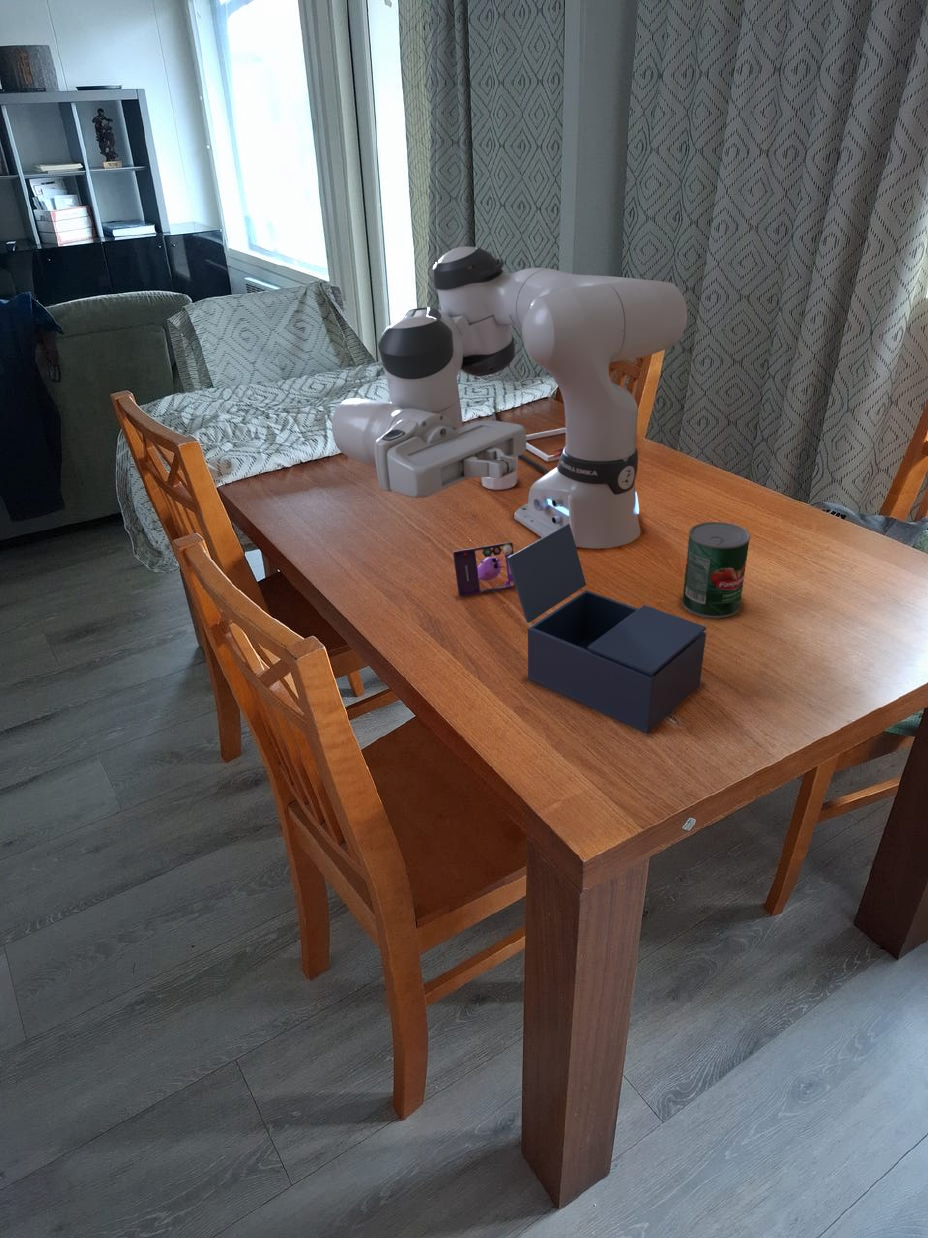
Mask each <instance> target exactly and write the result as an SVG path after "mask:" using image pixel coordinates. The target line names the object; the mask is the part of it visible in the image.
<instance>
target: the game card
mask: <svg viewBox="0 0 928 1238" xmlns="http://www.w3.org/2000/svg"><path fill="white" fill-rule="evenodd" d="M476 551H482V554H483V556H484V557H485V559H483V560H480V561H479V562H480V563H479V565H478V564H477V563H478V562H477V556H476V555H477V554H476ZM501 553H502V554H503V555H504V560H505V564H506V565H505V566H504V565H501V563H500V561H502V560H503V558H497V556H499V555H501ZM492 554H493V555H494V556H492ZM513 554H515V552H514V545H513V542H512V541H511V542H502V543H498V544H497V543H496V544H491V545H484V546H480V547H473V548H467V549H459V550H454V551H452V555H453V556H452V557H453V562H454V563H453V564H454V570H455V577H456V584H457V585H456V587H457V593H458V597H460V598H462V597H468V596H473V595H480V594H486V593H490V592H497V591H502V590H507V589H514V588H516V586H515V583H514V580H513V576H512V573H511V570H510V566H509V563H508V560H507V557H509V556H511V555H513ZM501 569H506V572H507V580H506V581H505V585H504V586H497V587H492V588H487V589H481V587H480V585H481V584H480V581H485V582H486V581H492V580H494V579H496V578H497V577H498V576H499V575H500V574H502V572H501ZM511 582H513V584H511Z"/></svg>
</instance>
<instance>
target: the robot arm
mask: <svg viewBox="0 0 928 1238" xmlns="http://www.w3.org/2000/svg"><path fill="white" fill-rule="evenodd" d="M504 266H505V262H504V261H503V260H502V259H501V258H495V257H494V256H493V255H492V254H491V253H490V252H489V251H487V250H485V249H483V248H481V247H479V246H476V245H475V246H458V247H454V248H452V249H450V250H449V251H447V252H446V253H444V254H443V255H442V256H441V257H440V258H438V259H437V260H436V262H435V264H434V265H433V266H432V277H433V285H434V288H435V289H436V290H437V291H436V292H437V296H438V301H439V306H440V309H438V308H436V307H431V306H425V307H416V308H413V309H412V308H411V309H409V310H407V311H405V312H404V313H402V314H401V315H400V316H399V318H398V319H397V321H394V322H392V323H390V324H388V326H387V327H386V328H385V329H384V330H383V332H382V334H381V336H380V337H379V339H378V341H377V348H378V351H379V357H380V359H381V363H382V366H383V368H384V374H385V380H386V384H387V390H388V395H389V400H390V402H387V401H382V400H376V399H367V398H349V399H345V400H343V401H341V402H340V403H339V404H338V405H337V407H336V408H335V410H334V412H333V416H332V422H331V432H332V437H333V441H334V444H335V446H336V448H337V449H338V450H339V452H341V453H342V454H343V455H345V457H348V459H349V458H350V459H351V460H354V461H356V462H358V463H360V464H363V465H366V466H369V467H372V468H375V469H376V475H377V481H378V486H379V489H380V490H381V491H384V492H389V493H391V492H393V493H395V494H399V495H401V496H406V497H409V498H413V499H424V498H428V497H431V496H432V495H435V494H437V493H440V492H442V491H444V490H446V489H448V488H450V487H452V486H455V485H457V484H459V483H461V482H463V481H466V480H468V479H470V478H472V479H474V478H475V479H477V478H481V477H491V478H495V479H500V478H502V477H504V476H506V475H508V474H510V473H512V472H515V471H516V459H515V458H514V457H517V456H518V457H519V458H521V459H522V460H524V461H525V462H527V463H528V464H529V465H531V466H533V467H535V468H537V469H538V470H540V471H541V472H542V473H543V474H544V475H543V476H541V477H540V478H538V479H536V480H535V482H533V483H532V484H531V486H530V489H529V491H528V497H527V503H525V504H523V505H521V506H520V507H518V508H517V509H516V511H515V512H514V515H513V518H514V520H516V521H517V522H518V523H520V524H522V525H523V526H524V527H526V528H527V529H529V530H531V531H532V532H533V533H534V534H535V535H537V536H538V537H540V538H543V537H545V536H547V535H548V534H550V533H552V532H554V531H555V530H557V529H559V528H561V527H563V526H564V525H566V524H570V527H571V531H572V534H573V538H574V541H575V545H576V548H583V549H597V550H598V549H611V548H612V549H613V548H617V547H622V546H625V545H628V544H630V543H632V542H634V541H635V540H637V539H638V538H639V537H640V535H641V531H642V530H641V526H640V523H639V513H640V507H639V499H638V494H637V491H636V478H637V474H638V464H639V463H638V462H639V450H638V448H637V433H638V431H637V430H638V415H639V406H638V402H637V401H636V399H635V397H634V395H633V394H632V393H631V392H630V391H629V390H628V389H626V388H625V387H623V386H621V385H618V384H617V383H614V382H612V381H611V377H610V369H609V368H610V364H611V363H613V362H620V361H627V360H634V359H639V358H645V357H649V356H651V355H655V354H657V353H660V352H662V351H665V350H667V349H670V348H672V347H674V346H675V345H676V344H678V343H679V341H680V340H681V338H682V336H683V334H684V332H685V330H686V327H687V321H688V307H687V303H686V300H685V297H684V295H683V293H682V292H681V290H680V289H679V287H678V286H676V284H674V283H672V282H670V281H663V280H655V279H642V278H633V277H622V276H611V275H597V274H596V275H593V274H578V273H577V274H576V273H572V272H567V271H564V270H563V271H562V270H559V269H555V268H548V267H529V268H524V269H521V270H518V271H515V272H513V273H512V272H511V273H506V272H505V271H504V270H503V267H504ZM511 325H513V326H514V327H516V329H518V330H520V331H521V338H522V342H523V346H524V348H525V350H526V352H527V354H528V356H529V357H530V358H531V360H532V361H533V362H534V363H535V364H536V365H538V366H539V367H541V368H542V369H544V370H545V371H546V372H547V373H548V374H549V375H550V376H551V378H552V379H553V380H554V382H555V383H556V385H557V387H558V389H559V391H560V394H561V398H562V403H563V406H564V407H563V408H564V422H565V423H564V424H565V425H564V428H566V433H565V445H564V446H563V447H561V448H559V449H555V450H553V451H552V452H553V453H555V454H553V455H554V456H553V457H557V456H560V455H561V457H560V459H558V462H557V465H556V467H555V468H553V469H552V470H550V471H549V470H548V469H547V468H546V467H544V466H542V465H541V464H539V463H538V462H536V461H534V460H532V459H531V458H529V457H528V456H526V455H525V454H526V451H527V449H526V442H527V440H526V435H527V429H526V428H525V427H524V425H522V424H519V423H513V422H507V421H501V420H498V417H497V413H496V411H495V412H492V411H491V413H492V418H493V420H492V419H481V420H477V421H473V422H470V423H468V424H466V425H464V424H463V423H464V421H463V413H462V403H461V399H460V398H461V397H460V390H459V383H458V376H459V374H460V372H461V371H462V372H463V373H465V374H467V375H471V376H474V377H485V376H490V375H494V374H497V373H499V372H502V371H503V370H504V369H506V368H507V367H509V366H510V365H511V363H512V362H513V360H514V359H515V357H516V345H515V338H514V337H513V336H512V329H511Z"/></svg>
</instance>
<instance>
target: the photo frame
mask: <svg viewBox="0 0 928 1238" xmlns="http://www.w3.org/2000/svg"><path fill="white" fill-rule="evenodd" d="M561 434H566V427H560V428H557V429H551V430H546V431H540V432H536V433H531V434H526V450H528V452H531V453H533V455H536V456H537V457H539V458H541V460H544V461H545V462H553V461H557V460H558V461H559V459H560V457H561V455H560V456H557V457H553V456H554V455H555V454H552V455H548V454H547V453H545V452H544V451H542V450H540V449H538V448H537V447H535V446H534V445H531V444H530V443H528V442H527V441H530V440H535V439H540V438H546V437H551V436H556V435H561Z"/></svg>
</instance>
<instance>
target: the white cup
mask: <svg viewBox="0 0 928 1238" xmlns="http://www.w3.org/2000/svg"><path fill="white" fill-rule="evenodd" d="M514 458H515V459H516V471H515V472H512V473H510V474H508V475H506V476H504V477H502V478H500V479H495V478H491V477H480V480H481V486H482V487H484V488H486V489H488V490H495V491H502V490H507V489H511V488H513V487H515V486H516V485H517V483H518V466H519V456H517V457H514Z"/></svg>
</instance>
